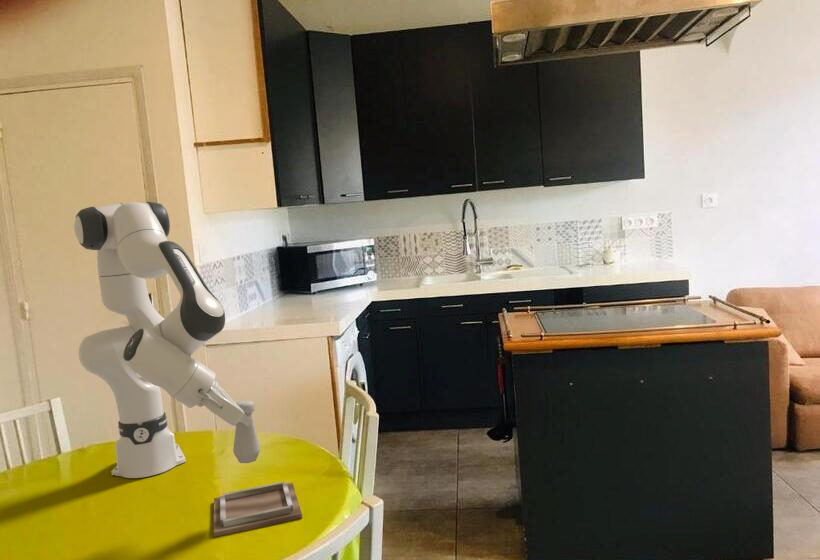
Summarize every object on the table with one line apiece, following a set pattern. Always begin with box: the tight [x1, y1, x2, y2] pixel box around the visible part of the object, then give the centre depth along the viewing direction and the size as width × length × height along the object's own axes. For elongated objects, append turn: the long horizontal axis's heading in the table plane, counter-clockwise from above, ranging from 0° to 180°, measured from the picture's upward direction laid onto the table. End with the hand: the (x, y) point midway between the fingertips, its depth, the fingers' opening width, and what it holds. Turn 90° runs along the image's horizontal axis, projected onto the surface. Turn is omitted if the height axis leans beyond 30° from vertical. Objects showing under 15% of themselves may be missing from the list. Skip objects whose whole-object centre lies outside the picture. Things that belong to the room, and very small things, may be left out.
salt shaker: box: [232, 400, 261, 464], centre depth 147 cm, size 6×6×13 cm
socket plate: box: [213, 481, 303, 538], centre depth 149 cm, size 18×18×2 cm
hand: (248, 420), depth 147 cm, fingers closed on salt shaker, 3 cm apart
